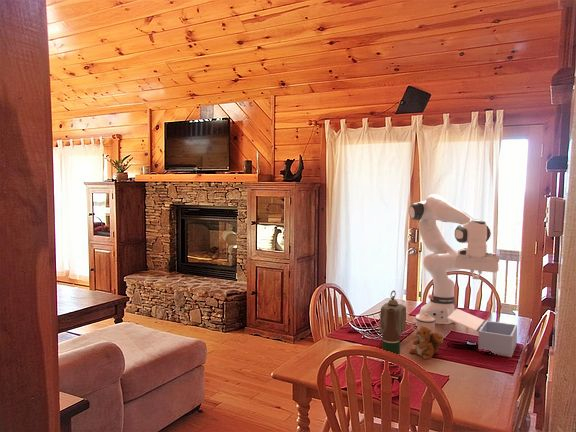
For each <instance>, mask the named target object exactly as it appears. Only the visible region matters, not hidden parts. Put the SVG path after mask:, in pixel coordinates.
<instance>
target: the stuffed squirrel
mask: <svg viewBox="0 0 576 432" xmlns="http://www.w3.org/2000/svg"><path fill="white" fill-rule="evenodd" d="M415 332H416V333H414V335H415V336H417V337H418V338H415V339H413V340H412V344H413V345H414V346H416V347H415V348H411V349H409V353H410V354H414V355H415V354H418V355H419V356H421V357H422V358H423V359H424V360H428V359H432V358H433V356H434V355H435V354H437V353H438V352H439V350H440V347H441V345H442V344H444V339H445V337H444V336H443V335H442V334H440V333H438V332H435V333H431V332H432V330H429V329H428V328H426V327H424V326H421V328H420V329H419V331H418V332H417V331H415Z"/></svg>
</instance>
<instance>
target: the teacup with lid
mask: <svg viewBox="0 0 576 432" xmlns="http://www.w3.org/2000/svg"><path fill="white" fill-rule="evenodd" d="M415 323H416V324H417V328H415V327H414V326H413V325H414V324H415ZM421 326H424V327H426V328H428V329H429V330H432V332H431V333H436V323H435V318H433V317H431V316H429V315H428V314H427V313H425V314H424V315H423V316H420V317H418V318H417V319H416V320H413V321H412V322H411V324H410V327H411V329H412V330H413V331H415V332H418V331H419V329H420V328H421Z"/></svg>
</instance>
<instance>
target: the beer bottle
mask: <svg viewBox="0 0 576 432" xmlns="http://www.w3.org/2000/svg"><path fill="white" fill-rule="evenodd" d="M381 340H382V341H381V342H382V343H381V345H382V347H381V348H382V349H383V350H386V351H390V352H393V353H396V354H399V355H400V354H401V352H400V351H401V349H400V347H401V345H400V344H401V340H400V335H399V333H398V330H397V329H396V326H395V309H387V325H386V328H385V329H384V331H383V334H382V339H381ZM382 349H381V350H382ZM381 361H382V360H381ZM383 363H384V361H382V364H383ZM389 365H394V364H392V363H389Z"/></svg>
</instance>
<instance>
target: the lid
mask: <svg viewBox="0 0 576 432" xmlns="http://www.w3.org/2000/svg"><path fill="white" fill-rule="evenodd" d="M447 319H448V320H450V321H452V322H454V323H455V324H457V325H460V326H462V327H465V328H466V329H468V330H472V331H473V332H476V333H478V332H479V330H480V329H481V327H482V326H483V324H484V323H485V322H486V321H487V320H486V319H482V318H480V317H479V316H475V315H473V314H471V313H468V312H466V311H464V310H461V309H459V308H455V311H454V312H453V313H452V314H451V315H450V316H449V317H448V318H447Z"/></svg>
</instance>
